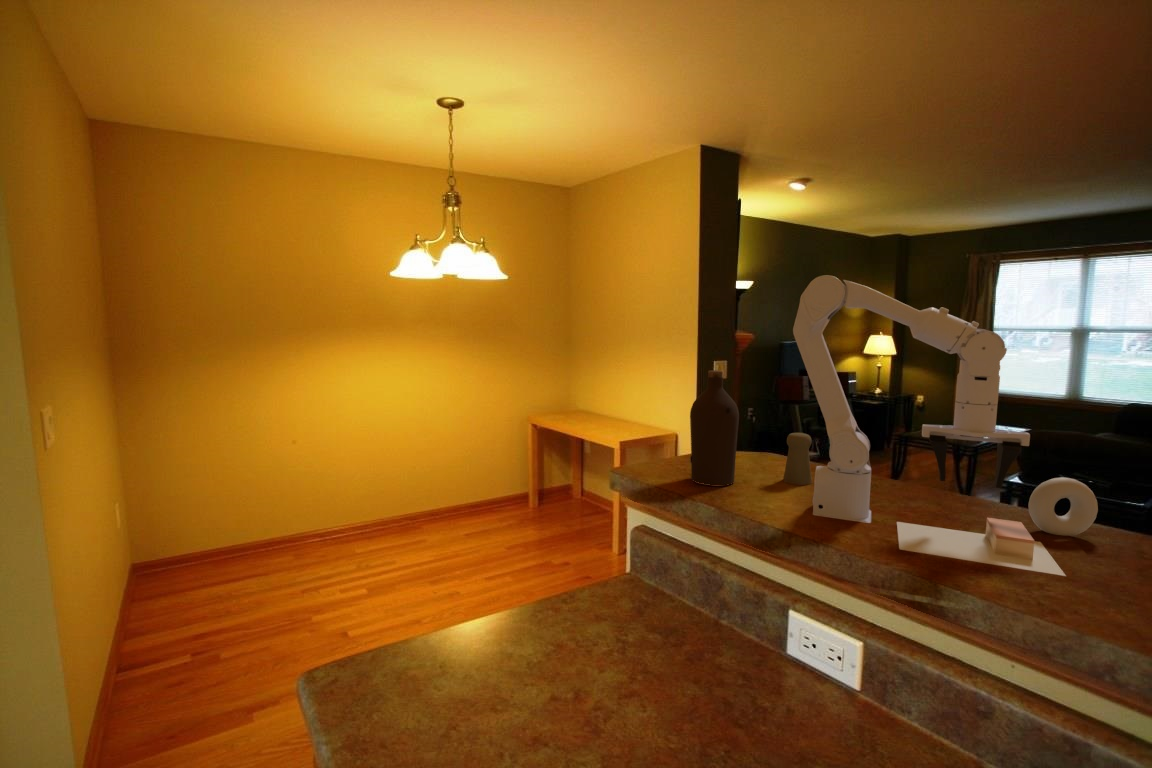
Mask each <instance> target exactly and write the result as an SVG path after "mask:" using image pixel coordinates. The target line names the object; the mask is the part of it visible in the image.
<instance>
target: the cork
mask: <svg viewBox="0 0 1152 768" xmlns="http://www.w3.org/2000/svg"><path fill="white" fill-rule="evenodd" d="M786 444H787V447H788V452H787V458H786V463H785V469H784V473H783V479H782V481H783V480H784V481H783V482H784V483H787V484H790V485H797V486H806V485H807V486H808V485H811V484H812V481H813V480H812V470H811V462H810V450H809V449H810V447H811V446H812V437H811V435H809V434H807V433H804V432H792V433H789V434H788V435H787V438H786Z"/></svg>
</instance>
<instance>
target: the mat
mask: <svg viewBox="0 0 1152 768" xmlns="http://www.w3.org/2000/svg"><path fill="white" fill-rule="evenodd" d="M896 526H897V528H896V529H897V530H896V531H897V539H898V550H902V551H907V552H913V553H914V552H915V553H918V554H919V553H920V554H927V555H931V556H938V557H945V558H949V559H958V560H961V561H969V562H975V563H981V564H988V565H994V566H1000V567H1004V568H1005V567H1006V568H1013V569H1019V570H1025V571H1029V572H1037V573H1044V574H1049V575H1055V576H1062V577H1067V575H1066V574H1065V572H1064V571H1063V569H1061V567H1060V566H1059V565H1058V563H1057V562H1056V561H1055V559H1054V558H1053V556H1052V555H1051V554H1050V553H1049V551H1048V550H1047V548H1046V547H1045V546H1044V544H1043V543H1042V542H1041V541H1035V540H1034V552H1033V560H1028V559H1021V558H1015V557H1009V556H1002V555H996V554H995V553H994V551H993V549H992V547H991V545H990V543H989V541H988V539H987V537H986V533H979V532H972V531H964V530H957V529H950V528H943V527H938V526H930V525H924V524H923V525H922V524H916V523H908V522H902V521H896Z"/></svg>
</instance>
